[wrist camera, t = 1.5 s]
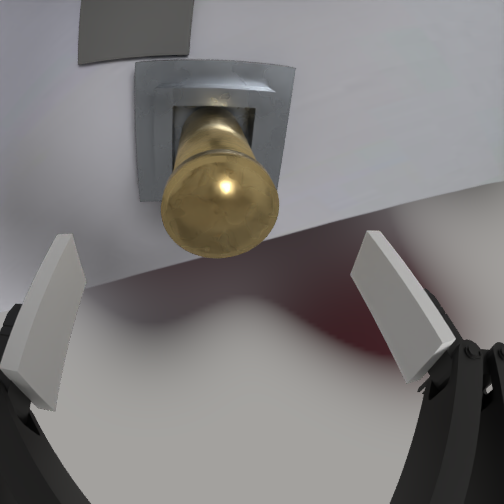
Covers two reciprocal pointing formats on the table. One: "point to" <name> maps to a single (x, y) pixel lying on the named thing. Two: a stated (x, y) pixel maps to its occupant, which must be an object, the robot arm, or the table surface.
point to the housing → (204, 95)
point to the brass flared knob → (217, 189)
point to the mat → (133, 29)
